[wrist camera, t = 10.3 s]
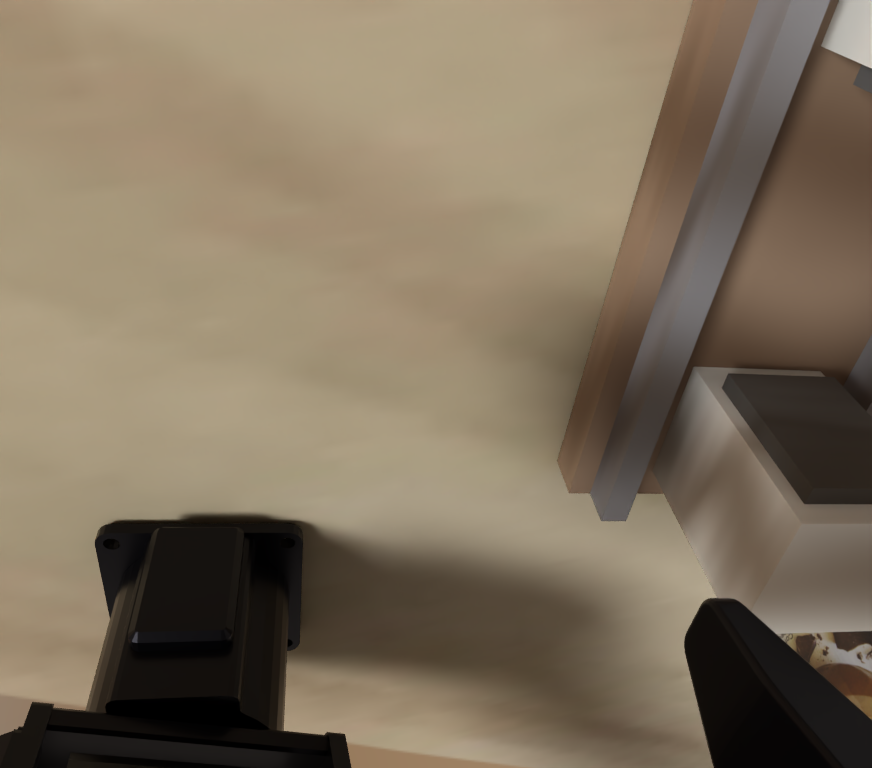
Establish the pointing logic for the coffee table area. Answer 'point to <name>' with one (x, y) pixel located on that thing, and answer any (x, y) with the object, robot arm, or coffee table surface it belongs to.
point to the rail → (747, 321)
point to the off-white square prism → (853, 37)
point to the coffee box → (840, 661)
